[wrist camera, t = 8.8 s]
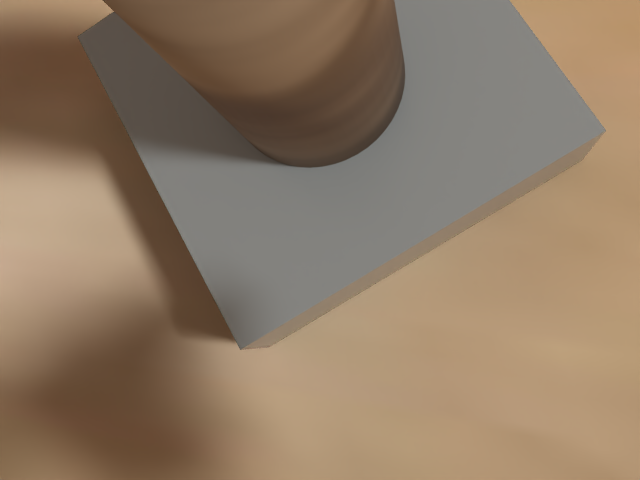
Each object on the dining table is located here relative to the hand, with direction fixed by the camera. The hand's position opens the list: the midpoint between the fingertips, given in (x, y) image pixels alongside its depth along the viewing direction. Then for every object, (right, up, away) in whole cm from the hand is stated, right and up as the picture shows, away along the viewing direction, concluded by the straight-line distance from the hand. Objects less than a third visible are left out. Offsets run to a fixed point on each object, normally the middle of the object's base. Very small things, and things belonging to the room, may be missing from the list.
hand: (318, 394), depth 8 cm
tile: (0, +6, +14) cm, 15 cm away
